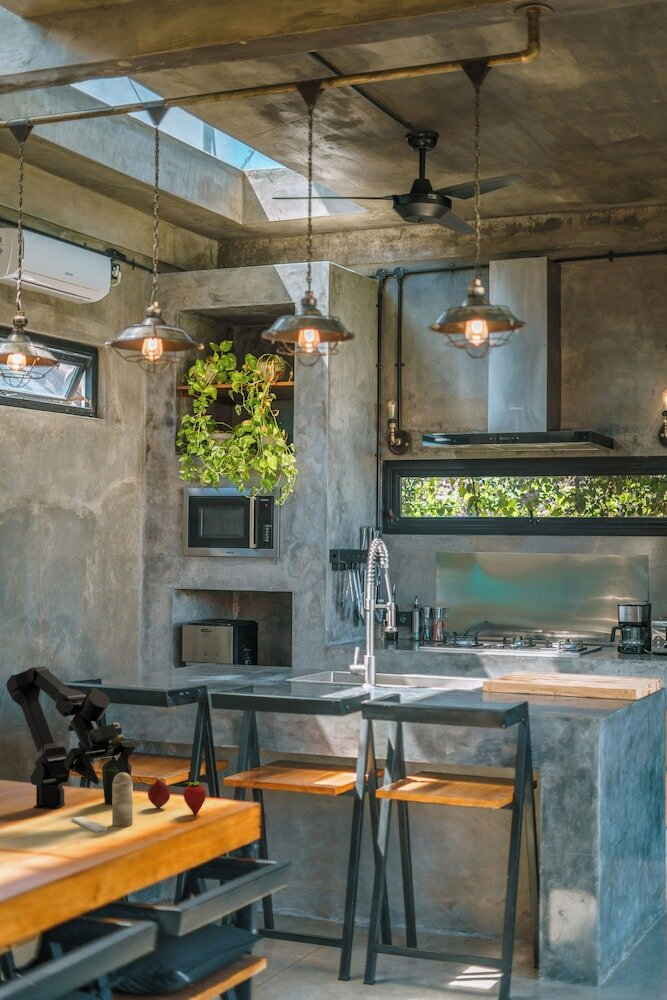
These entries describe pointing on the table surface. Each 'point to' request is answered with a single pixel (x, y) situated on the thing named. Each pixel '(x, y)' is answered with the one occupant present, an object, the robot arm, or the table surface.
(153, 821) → the table surface
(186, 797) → the strawberry
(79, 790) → the table surface
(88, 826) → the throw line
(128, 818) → the skittle
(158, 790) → the onion
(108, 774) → the potion bottle
